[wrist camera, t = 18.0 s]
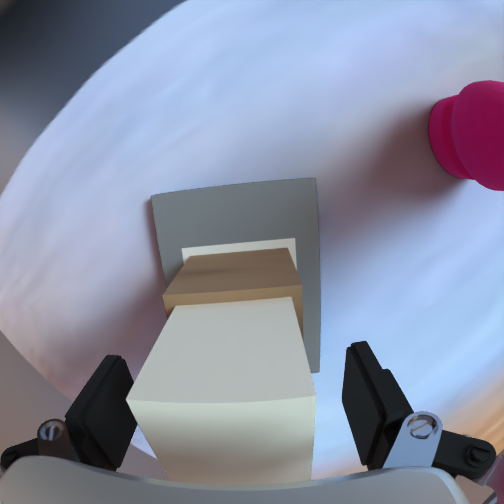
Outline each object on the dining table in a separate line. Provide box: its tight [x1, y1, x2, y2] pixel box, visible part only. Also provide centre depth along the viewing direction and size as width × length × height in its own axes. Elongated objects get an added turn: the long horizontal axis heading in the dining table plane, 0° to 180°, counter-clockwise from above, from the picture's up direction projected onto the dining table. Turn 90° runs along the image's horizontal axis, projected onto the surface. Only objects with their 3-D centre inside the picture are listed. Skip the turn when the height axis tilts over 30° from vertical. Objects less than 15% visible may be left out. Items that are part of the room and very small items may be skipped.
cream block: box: [126, 297, 316, 485], centre depth 10 cm, size 5×5×6 cm
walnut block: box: [162, 247, 304, 344], centre depth 16 cm, size 6×6×6 cm
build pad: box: [151, 178, 321, 373], centre depth 19 cm, size 14×10×1 cm
